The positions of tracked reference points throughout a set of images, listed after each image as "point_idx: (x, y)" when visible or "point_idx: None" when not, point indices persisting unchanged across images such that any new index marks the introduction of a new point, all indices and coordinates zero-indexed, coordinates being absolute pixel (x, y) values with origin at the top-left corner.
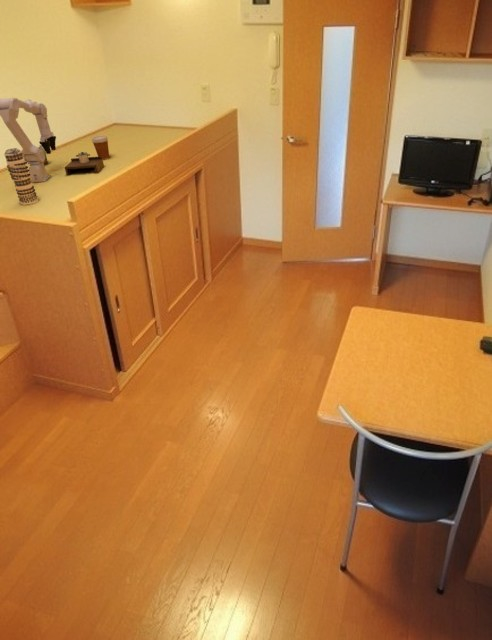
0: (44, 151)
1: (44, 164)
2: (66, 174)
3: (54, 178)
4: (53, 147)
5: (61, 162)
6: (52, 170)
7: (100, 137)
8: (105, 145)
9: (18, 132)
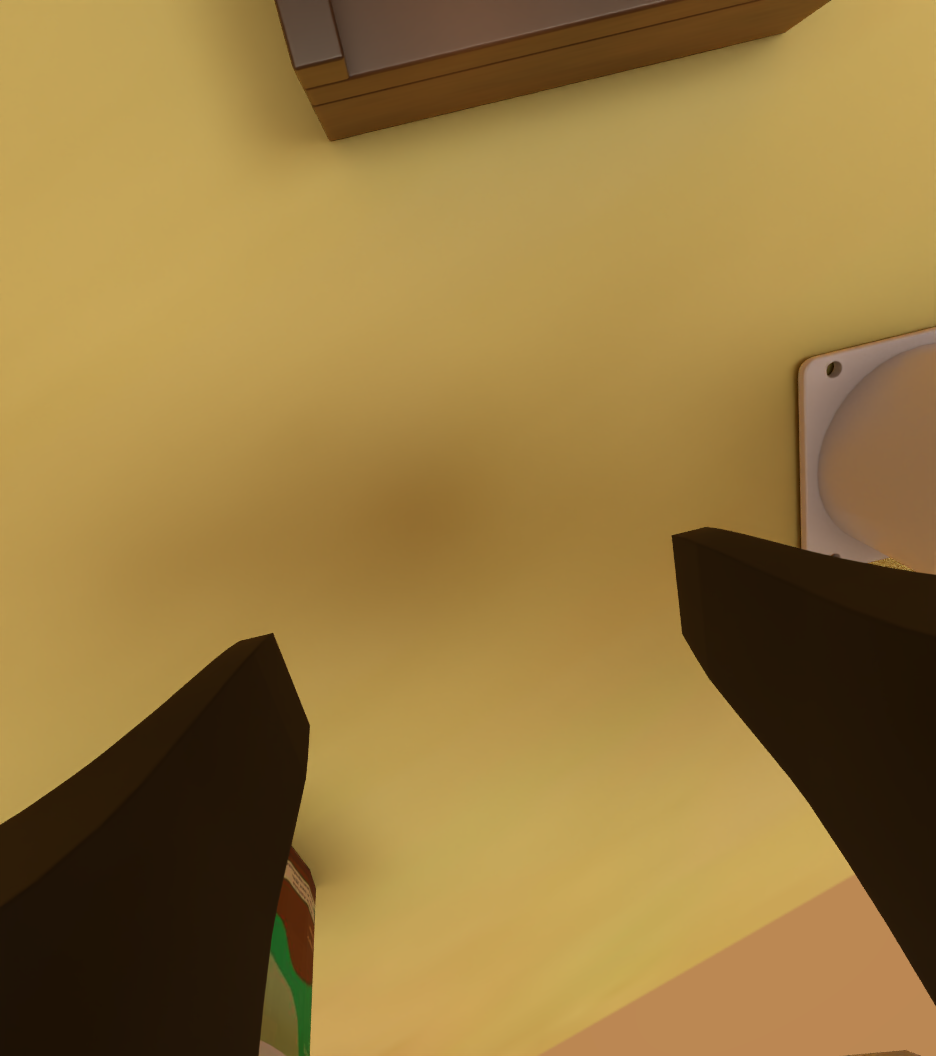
0: None
1: None
2: (794, 22)
3: (918, 214)
4: (264, 718)
5: (20, 659)
6: (462, 543)
7: None
8: None
9: None
